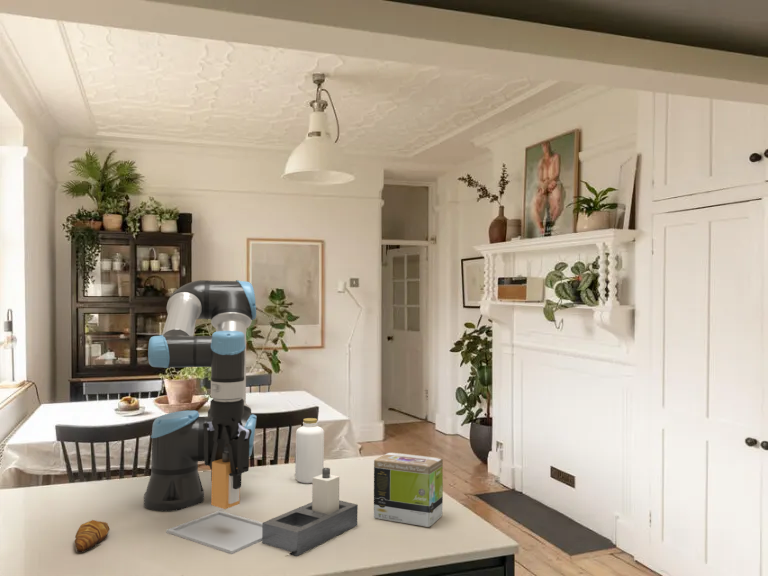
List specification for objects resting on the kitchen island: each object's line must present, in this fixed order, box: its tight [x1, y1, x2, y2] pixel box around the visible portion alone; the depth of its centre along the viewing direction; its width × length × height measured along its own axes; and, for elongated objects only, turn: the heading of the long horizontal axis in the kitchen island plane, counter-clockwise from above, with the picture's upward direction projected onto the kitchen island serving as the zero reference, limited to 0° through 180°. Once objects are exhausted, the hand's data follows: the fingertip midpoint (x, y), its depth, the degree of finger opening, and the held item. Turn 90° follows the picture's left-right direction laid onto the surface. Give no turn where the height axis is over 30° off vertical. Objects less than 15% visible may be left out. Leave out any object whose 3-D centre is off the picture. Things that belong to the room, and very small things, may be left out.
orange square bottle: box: [210, 451, 241, 510], centre depth 148 cm, size 4×4×12 cm
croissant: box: [73, 519, 110, 554], centre depth 142 cm, size 14×7×5 cm, turn 2°
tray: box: [165, 510, 264, 555], centre depth 147 cm, size 21×16×1 cm
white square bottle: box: [311, 467, 340, 514], centre depth 152 cm, size 4×4×12 cm
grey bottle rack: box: [261, 499, 359, 557], centre depth 147 cm, size 10×22×5 cm, turn 147°
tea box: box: [373, 451, 444, 528], centre depth 160 cm, size 15×10×15 cm, turn 65°
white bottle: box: [294, 417, 325, 484], centre depth 190 cm, size 8×8×18 cm
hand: (225, 499), depth 148 cm, fingers closed on orange square bottle, 4 cm apart
